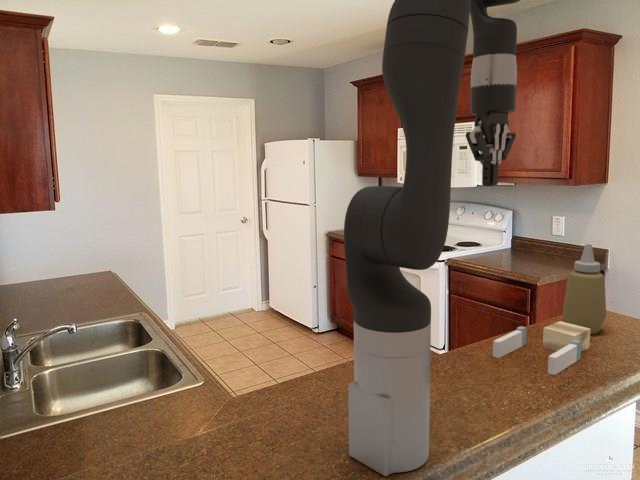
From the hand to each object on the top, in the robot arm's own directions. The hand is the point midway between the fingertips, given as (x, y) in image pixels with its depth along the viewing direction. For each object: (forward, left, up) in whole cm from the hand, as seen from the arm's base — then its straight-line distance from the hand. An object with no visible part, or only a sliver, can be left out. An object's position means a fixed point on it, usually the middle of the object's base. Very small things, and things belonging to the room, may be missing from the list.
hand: (489, 185), depth 93 cm
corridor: (+4, -8, -31) cm, 32 cm away
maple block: (+13, -10, -31) cm, 35 cm away
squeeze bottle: (+25, -8, -31) cm, 41 cm away
